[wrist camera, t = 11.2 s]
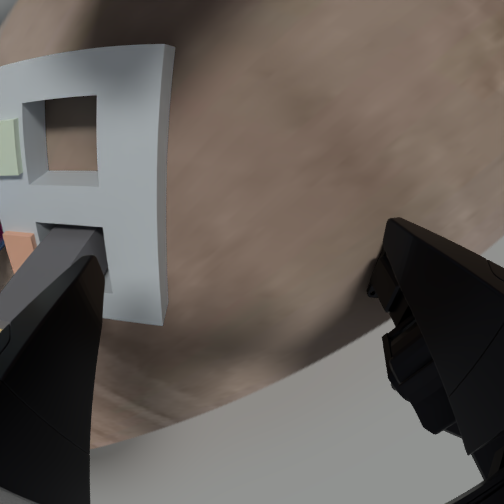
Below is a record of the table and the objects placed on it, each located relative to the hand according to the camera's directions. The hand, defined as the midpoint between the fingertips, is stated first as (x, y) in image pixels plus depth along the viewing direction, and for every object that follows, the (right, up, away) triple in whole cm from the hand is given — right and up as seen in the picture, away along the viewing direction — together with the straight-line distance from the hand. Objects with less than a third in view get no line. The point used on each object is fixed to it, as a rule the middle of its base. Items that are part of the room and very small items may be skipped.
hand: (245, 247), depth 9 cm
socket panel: (-13, +5, +12) cm, 19 cm away
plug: (-14, +1, +15) cm, 20 cm away
